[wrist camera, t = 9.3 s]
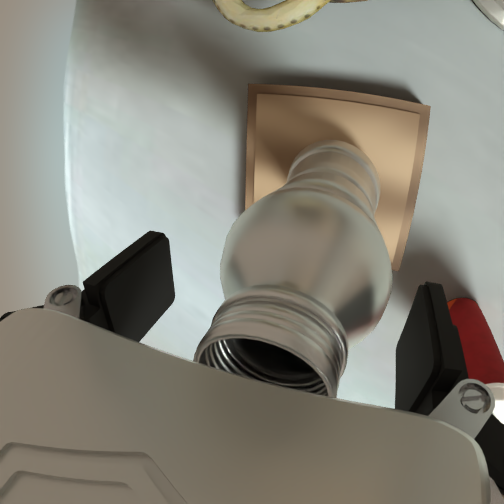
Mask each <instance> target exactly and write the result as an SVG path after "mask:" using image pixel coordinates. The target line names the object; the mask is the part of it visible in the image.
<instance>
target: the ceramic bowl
mask: <svg viewBox="0 0 504 504" xmlns="http://www.w3.org/2000/svg"><path fill="white" fill-rule="evenodd" d="M359 1H367V0H285V1H283V2H281V3H279V4H276V5H274V6H272V7H268V8H265V9H256V8H251V7H249V6H247V5H245V3H244V2H243V1H242V0H213V2H214V4H215V5H216V7H217V9H218V10H219V11H220V13H221V14H222V15H223V16H224V17H225V18H226V19H227V20H229V21H230V22H231V23H233V24H235V25H238V26H240V27H242V28H245V29H248V30H252V31H256V32H271V31H275V30H279V29H284V28H287V27H289V26H292V25H295V24H298V23H300V22H302V21H304V20H306V19H308V18H310V17H311V16H312V15H313V14H315V13H316V12H317V11H319V10H320V9H321V8H322V7H323V6H324V5H325V4H327V3H328V2H330V3H348V2H359Z"/></svg>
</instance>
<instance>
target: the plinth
mask: <svg viewBox="0 0 504 504" xmlns="http://www.w3.org/2000/svg"><path fill="white" fill-rule="evenodd" d="M430 107H431V106H428V105H423V104H419V103H414V102H409V101H404V100H399V99H394V98H389V97H383V96H377V95H371V94H365V93H358V92H351V91H343V90H335V89H326V88H316V87H304V86H291V85H272V84H248V112H247V151H246V193H245V210H247V209H248V208H249V207H250V206H251V205H253V204H254V203H256V202H257V201H258V200H260V199H261V198H263V197H264V196H266V195H268V194H270V193H272V192H274V191H276V190H277V189H279V188H281V187H282V186H283V185H285V184H286V183H287V177H288V174H289V171H290V168H291V164H292V163H293V161H294V159H295V157H296V156H297V155H298V154H299V153H300V152H301V150H303V149H304V148H305V147H307V146H308V145H310V144H313V143H315V142H318V141H323V140H338V141H343V142H346V143H349V144H351V145H353V146H355V147H357V148H358V149H360V150H361V151H362V152H363V153H364V154H365V155H366V156H367V157H368V158H369V159H370V160H371V162H372V163H373V165H374V166H375V168H376V171H377V173H378V175H379V180H380V198H379V202H378V206H377V209H376V211H375V213H374V217H375V221H376V224H377V226H378V228H379V230H380V232H381V235H382V237H383V239H384V242H385V244H386V247H387V250H388V254H389V258H390V262H391V269H392V270H394V271H399V269H400V265H401V262H402V258H403V254H404V250H405V246H406V243H407V239H408V234H409V230H410V226H411V222H412V217H413V213H414V208H415V203H416V199H417V194H418V189H419V183H420V178H421V172H422V166H423V160H424V154H425V147H426V140H427V133H428V125H429V116H430Z"/></svg>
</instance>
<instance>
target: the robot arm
mask: <svg viewBox="0 0 504 504" xmlns="http://www.w3.org/2000/svg"><path fill="white" fill-rule="evenodd" d="M473 1H474V2H475V4H476V5H477V6H478V7H479V9H480V10H481V11H482V12H483V13H484V14H485V15H486V16H487V17H488V18H489V19H490V20H491V21H492V22H493V23H495V24H496V25H497V26H498V27H499V28H501V29H502V30H504V0H473ZM83 285H84V288H85V289H84V290H83V291H82V292H81V289H80V288H79V287H77V286H75V285H65V286H60V287H58V288H56V289H54V290H52V291H51V292H50V293H49V294H48V295H47V297H46V300H45V304H44V305H42V306H37V307H33V308H27V309H21V310H18V311H14V312H8V313H5V314H4V315H3V316H2V317H1V318H0V504H504V424H503V423H501V422H500V421H499V420H498V419H497V418H496V417H495V416H494V415H493V414H492V412H493V410H494V408H495V398H494V395H493V393H492V391H491V390H490V388H489V387H487V386H486V385H485V384H484V383H482V382H480V381H478V380H475V379H469V377H468V372H467V367H466V362H465V357H464V353H463V348H462V344H461V340H460V336H459V332H458V328H457V326H456V325H453V323H452V319H451V316H450V312H449V308H448V304H447V301H446V297H445V294H444V290H443V287H442V285H441V284H436V283H431V282H426V283H425V284H424V285H420V286H419V288H418V290H417V293H416V296H415V299H414V302H413V305H412V307H411V310H410V313H409V316H408V318H407V321H406V323H405V326H404V329H403V331H402V334H401V336H400V339H399V341H398V344H397V347H396V394H395V409H392V408H386V407H381V406H376V405H371V404H365V403H359V402H353V401H348V400H343V399H338V398H333V397H328V396H323V395H319V394H314V393H309V392H305V391H300V390H296V389H292V388H288V387H283V386H279V385H275V384H271V383H268V382H264V381H260V380H256V379H252V378H249V377H245V376H241V375H238V374H234V373H231V372H227V371H224V370H221V369H217V368H214V367H211V366H207V365H204V364H201V363H198V362H195V361H192V360H188V359H185V358H182V357H179V356H176V355H173V354H171V353H168V352H165V351H162V350H159V349H156V348H153V347H150V346H148V345H145V344H142V343H139V342H140V340H141V339H142V338H143V337H144V336H145V334H146V333H147V332H148V331H149V330H150V329H151V327H152V326H153V325H154V324H155V323H156V322H157V321H158V319H159V318H160V317H161V316H162V315H163V314H164V312H165V311H166V310H167V309H168V308H169V307H170V306H171V304H172V303H173V301H174V299H175V290H174V282H173V273H172V264H171V255H170V245H169V239H168V238H167V237H166V236H165V234H164V233H160V232H155V231H149V232H147V233H146V234H145V235H143V236H142V237H141V238H139V239H138V240H137V241H135V242H134V243H133V244H131V245H130V246H129V247H127V248H126V249H125V250H123V251H122V252H121V253H119V254H118V255H117V256H115V257H114V258H113V259H111V260H110V261H109V262H107V263H106V264H105V265H104V266H102V267H101V268H100V269H99V270H97V271H96V272H95V273H93V274H92V275H91V276H90V277H88V278H87V279H86V280H85V281H83Z"/></svg>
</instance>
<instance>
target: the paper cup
mask: <svg viewBox="0 0 504 504" xmlns="http://www.w3.org/2000/svg"><path fill="white" fill-rule="evenodd" d="M447 304H448V308H449V312H450V316H451V319H452V323H453V325H456V326H457V328H458V332H459V336H460V340H461V344H462V348H463V353H464V357H465V362H466V367H467V372H468V377H469V379H475V380H478V381H480V382H482V383H484V384H485V385H486V386H487V387H489V388H490V390H491V391H492V393H493V395H494V398H495V408H494V410H493V412H492V414H493V415H494V416H495V417H496V418H497V419H498V420H499V421H500V422H501V423H503V424H504V361H503V359H502V356H501V354H500V351H499V349H498V346H497V344H496V342H495V339H494V337H493V335H492V332H491V330H490V328H489V326H488V324H487V321H486V319H485V317H484V315H483V313H482V311H481V309H480V308H479V306H478V305H477V303H476V302H475V301H473V300H471V299H469V298H456V299H453V300H451V301H449V302H447Z"/></svg>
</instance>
